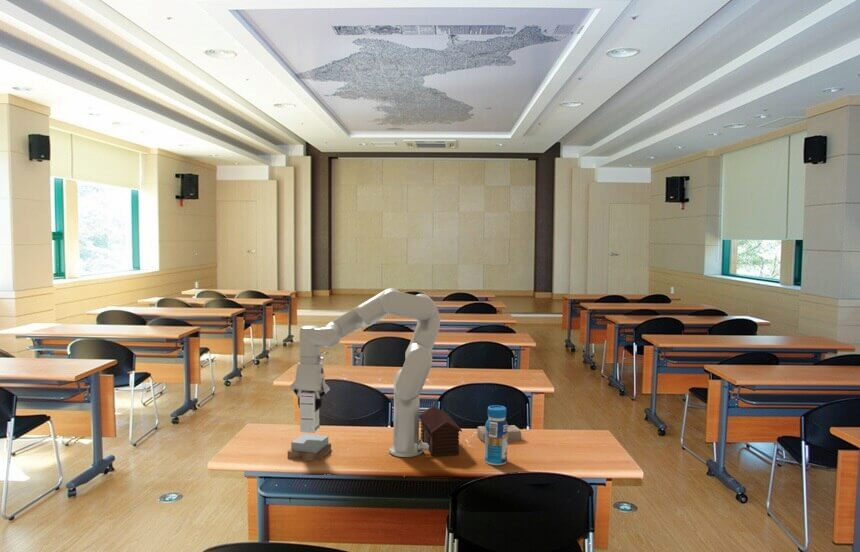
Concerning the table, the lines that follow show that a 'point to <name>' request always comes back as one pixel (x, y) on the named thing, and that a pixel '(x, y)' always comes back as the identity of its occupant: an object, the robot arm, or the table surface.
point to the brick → (512, 430)
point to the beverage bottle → (496, 436)
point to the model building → (439, 432)
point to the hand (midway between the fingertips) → (309, 407)
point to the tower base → (309, 454)
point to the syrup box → (309, 412)
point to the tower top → (309, 443)
